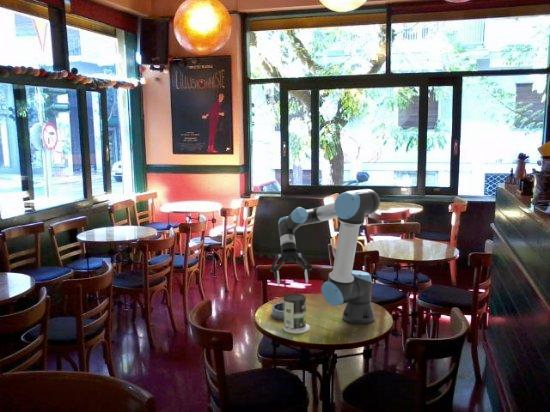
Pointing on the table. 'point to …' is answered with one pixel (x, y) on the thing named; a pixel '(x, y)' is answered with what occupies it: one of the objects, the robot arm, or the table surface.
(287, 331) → the saucer
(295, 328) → the coffee can
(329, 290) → the robot arm
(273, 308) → the ring collar
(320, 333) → the table surface
